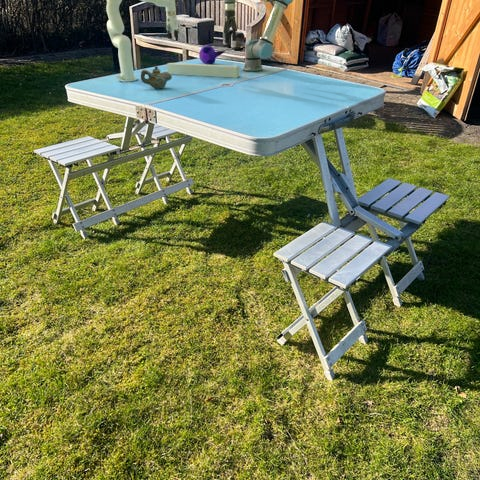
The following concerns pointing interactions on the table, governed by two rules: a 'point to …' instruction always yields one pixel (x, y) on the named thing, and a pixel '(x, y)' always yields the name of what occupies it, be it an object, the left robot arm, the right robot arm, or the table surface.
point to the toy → (209, 55)
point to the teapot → (155, 78)
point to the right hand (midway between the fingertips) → (230, 42)
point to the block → (203, 70)
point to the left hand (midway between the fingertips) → (173, 38)
